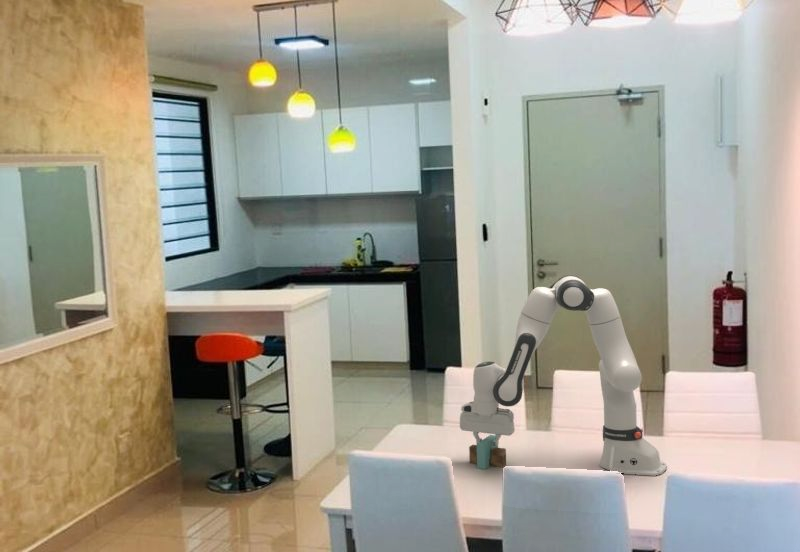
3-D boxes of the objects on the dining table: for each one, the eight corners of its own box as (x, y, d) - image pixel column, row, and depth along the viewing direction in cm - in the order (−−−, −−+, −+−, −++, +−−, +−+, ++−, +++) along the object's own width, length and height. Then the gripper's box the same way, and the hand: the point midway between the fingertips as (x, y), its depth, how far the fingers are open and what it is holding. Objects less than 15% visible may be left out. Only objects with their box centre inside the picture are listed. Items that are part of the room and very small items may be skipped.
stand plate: (506, 464, 306) (505, 448, 306) (503, 467, 304) (502, 450, 303) (473, 460, 313) (472, 444, 312) (469, 462, 310) (469, 446, 310)
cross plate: (490, 458, 314) (490, 434, 313) (498, 459, 313) (497, 435, 312) (477, 468, 304) (476, 443, 303) (485, 469, 302) (484, 444, 301)
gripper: (516, 407, 304) (517, 445, 305) (464, 402, 314) (465, 439, 315) (510, 411, 298) (511, 450, 300) (457, 406, 308) (458, 444, 310)
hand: (487, 444), depth 307 cm, fingers open, 5 cm apart
